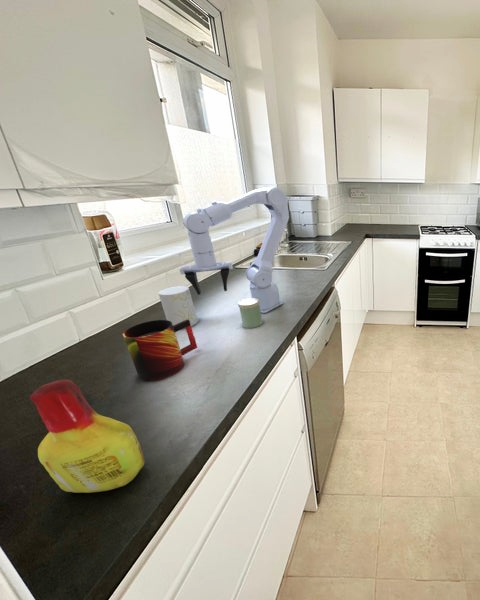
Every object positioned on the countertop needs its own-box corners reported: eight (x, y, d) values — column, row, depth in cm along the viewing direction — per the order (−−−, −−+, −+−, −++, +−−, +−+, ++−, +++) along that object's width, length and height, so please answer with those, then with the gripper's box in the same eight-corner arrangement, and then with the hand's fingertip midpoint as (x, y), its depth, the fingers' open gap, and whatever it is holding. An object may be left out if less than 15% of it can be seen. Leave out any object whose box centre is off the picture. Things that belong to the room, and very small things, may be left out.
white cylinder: (183, 330, 100) (173, 295, 96) (162, 328, 102) (151, 293, 97) (203, 319, 108) (194, 287, 103) (183, 317, 109) (174, 285, 105)
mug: (199, 350, 89) (188, 312, 85) (171, 379, 76) (157, 337, 72) (163, 352, 88) (150, 313, 84) (129, 382, 76) (112, 339, 71)
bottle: (47, 507, 47) (-20, 402, 40) (79, 470, 53) (26, 373, 46) (135, 494, 49) (88, 391, 42) (157, 460, 55) (118, 364, 48)
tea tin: (252, 318, 109) (248, 296, 106) (267, 321, 107) (263, 299, 104) (238, 326, 103) (233, 303, 100) (253, 329, 101) (248, 306, 98)
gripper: (173, 257, 93) (185, 299, 98) (228, 252, 98) (236, 292, 103) (177, 252, 98) (188, 292, 104) (229, 247, 104) (237, 286, 109)
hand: (212, 291), depth 104 cm, fingers open, 7 cm apart
